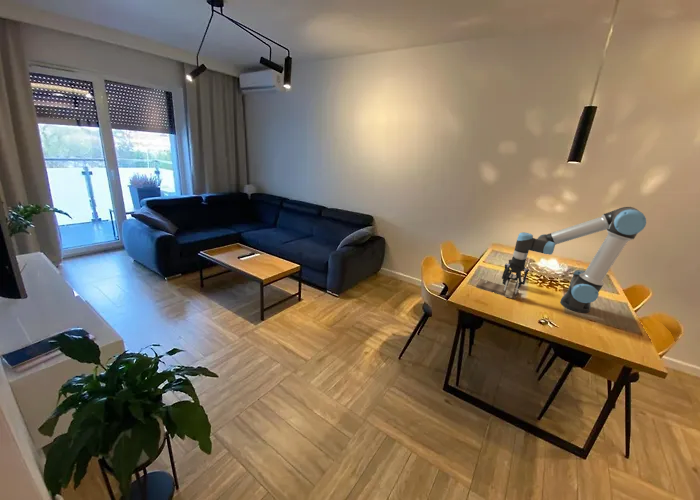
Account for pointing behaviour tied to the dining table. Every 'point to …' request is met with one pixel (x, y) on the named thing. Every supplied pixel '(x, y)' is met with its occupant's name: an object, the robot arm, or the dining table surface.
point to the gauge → (510, 288)
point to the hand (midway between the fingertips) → (510, 291)
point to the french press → (512, 276)
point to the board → (494, 287)
